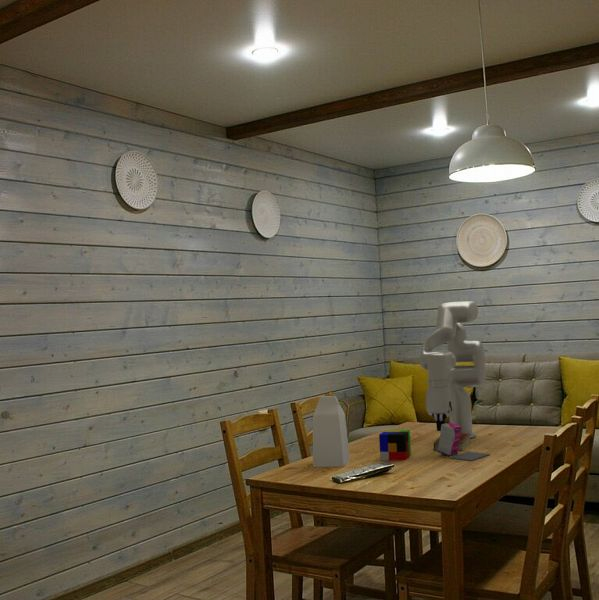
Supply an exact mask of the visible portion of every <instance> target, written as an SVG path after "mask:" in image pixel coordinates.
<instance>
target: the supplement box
mask: <svg viewBox="0 0 599 600" xmlns="http://www.w3.org/2000/svg"><path fill="white" fill-rule="evenodd" d="M439 432H440V433H439V437H440V439H439V446H438V450H437V453H440V454H442V455H444V456H447V457H452V456H455V455H458V454H459V451H458V447H459V440H460V433H461V426H458V425H455V424H453V423H450V422H445V424H442V425H441V431H439Z"/></svg>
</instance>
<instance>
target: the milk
mask: <svg viewBox="0 0 599 600" xmlns="http://www.w3.org/2000/svg"><path fill="white" fill-rule="evenodd" d="M315 407H316V408H315V410H314V413H313V415H312V467H313V468H316V467H317V468H318V467H319V468H320V467H324V468H325V467H329V468H332V467H333V468H335V467H336V468H337V467H339V468H342V467H343V468H344V467H346V465H347V464H348V463H349V462H350V461H351V458H350V449H349V442H348V438H349V437H348V431H347V430H348V429H347V423H346V414H345V411H344V409H343V408H342V406H341V404H340V402H339V400H338V398H337V397H336V395H323V396H319V399H318V401H317V405H316V406H315Z"/></svg>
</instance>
